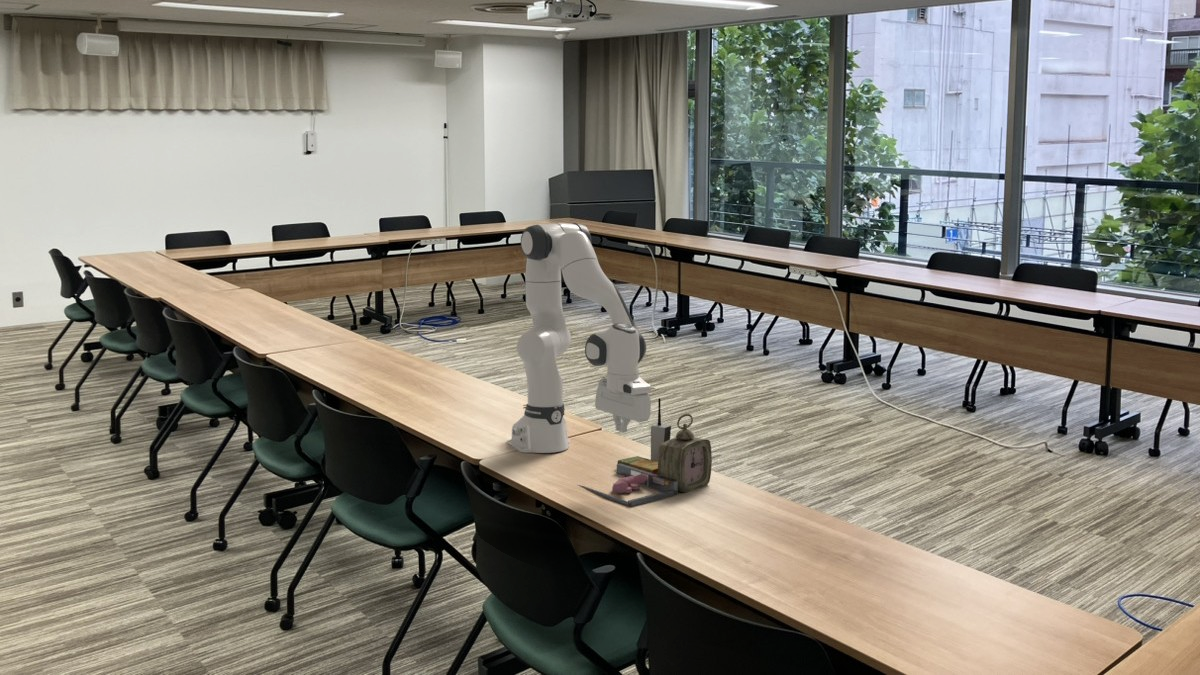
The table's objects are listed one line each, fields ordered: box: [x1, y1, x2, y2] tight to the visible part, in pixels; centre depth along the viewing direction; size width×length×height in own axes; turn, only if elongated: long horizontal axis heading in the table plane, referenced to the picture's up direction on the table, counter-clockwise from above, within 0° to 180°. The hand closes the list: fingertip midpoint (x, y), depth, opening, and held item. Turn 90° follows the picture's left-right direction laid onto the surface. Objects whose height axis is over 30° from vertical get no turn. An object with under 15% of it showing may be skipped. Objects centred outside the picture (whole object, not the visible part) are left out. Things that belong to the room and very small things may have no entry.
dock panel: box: [581, 463, 679, 508], centre depth 288 cm, size 24×17×4 cm
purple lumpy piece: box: [611, 474, 647, 495], centre depth 287 cm, size 10×5×7 cm
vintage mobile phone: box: [650, 398, 672, 461], centre depth 309 cm, size 4×5×25 cm
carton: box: [616, 455, 658, 475], centre depth 301 cm, size 8×16×4 cm, turn 38°
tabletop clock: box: [658, 413, 713, 494], centre depth 292 cm, size 14×9×25 cm, turn 138°
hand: (621, 431), depth 286 cm, fingers closed
